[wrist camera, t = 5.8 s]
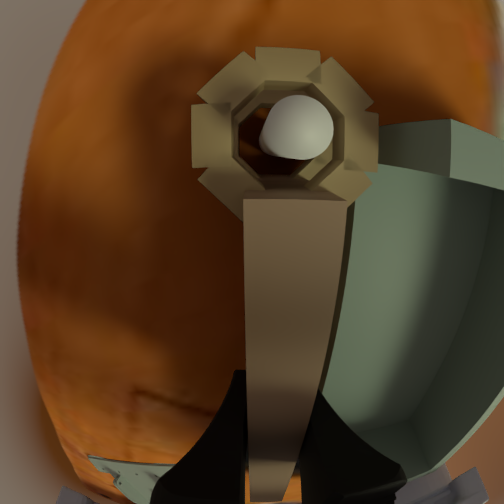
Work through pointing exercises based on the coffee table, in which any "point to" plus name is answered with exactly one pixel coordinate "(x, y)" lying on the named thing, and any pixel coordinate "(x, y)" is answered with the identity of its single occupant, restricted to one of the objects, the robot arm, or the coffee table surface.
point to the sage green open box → (413, 284)
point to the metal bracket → (132, 476)
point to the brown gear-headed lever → (285, 237)
